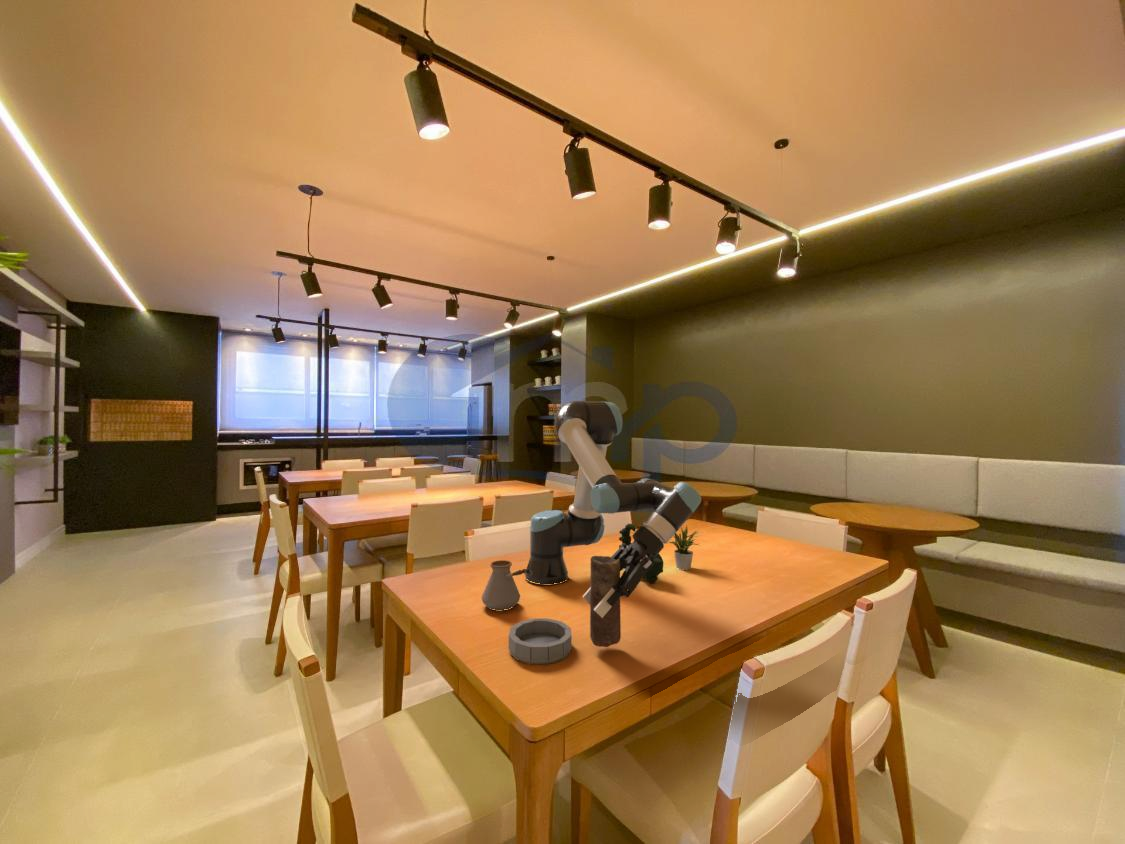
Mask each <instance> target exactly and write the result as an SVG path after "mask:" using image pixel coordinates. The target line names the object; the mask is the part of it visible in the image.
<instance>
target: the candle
mask: <svg viewBox="0 0 1125 844" xmlns="http://www.w3.org/2000/svg"><path fill="white" fill-rule="evenodd" d="M620 578H621V571H620V561H618V560H615V559H614V558H612V557H611V556H607V555H605V556H604V555H593V556H591V557H590V587H591V604H589V606H590V608H589V610H590V612H589V613H590V615H589V617H590V619H589V622H590V623H589V625H590V627H589V629H590V631H589V636H590V640H591V641H592V644H593V645H594V646H596V647H599V648H601V647H603V648H609V647H611V646H613V645H617V644H619V642H621V638H622V637H621V635H622V634H621V629H622V628H621V622H622V621H621V597H620V598H619V599H618V601H617V602H616V603H615V604H614V605H613V606H612V607H611V608H610V610H609V611H608V612H607V613H606V614H605V616H604V617H603V618H602V617H601V616H600V615H599V614H597V613H596V612H595V611H594V608H595V607H596V606H597V605H598V604H599V602H600V601H601V600H602V599H603V598H604V597H605V595H606V594H607V593H608V592H609V591H610V589H611V588H613V586H616V585H617V583H618V581H619V580H620ZM613 589H614V588H613ZM614 590H615V589H614Z"/></svg>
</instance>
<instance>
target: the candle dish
mask: <svg viewBox="0 0 1125 844" xmlns="http://www.w3.org/2000/svg"><path fill="white" fill-rule="evenodd" d="M572 639H573V637H572V627H570V626H569V625H567V624H566V623H565V622H563V621H561V620H558V619H557V620H556V619H552V618H547V617H546V618H529V619H527V620H522V621H518V622H517V623H516V624H514V625H513V626H512V627H510V628H509V631H508V651H510V652H509V654H510V653H511V654H510V655H512V656H513V657H514V658H513V657H512V656H511V657H512V658H513V659H515V658H516V659H518V660H519V661H518V660H517V661H518V662H520V661H522V662H521V663H523V662H525V663H524V664H527V663H530V664H529V665H534V664H544V665H550V663H551V664H554V662H555V663H558V662H561V661H562V659H563V660H564V659H566V658H567V657H569V655H570V654H571V652H570V651H572ZM569 653H570V654H569ZM565 657H566V658H565ZM516 659H515V660H516ZM557 661H558V662H557Z"/></svg>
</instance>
